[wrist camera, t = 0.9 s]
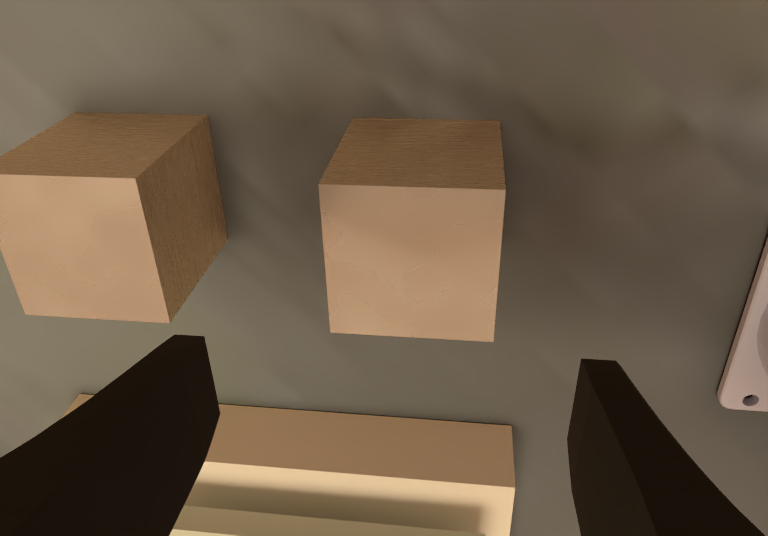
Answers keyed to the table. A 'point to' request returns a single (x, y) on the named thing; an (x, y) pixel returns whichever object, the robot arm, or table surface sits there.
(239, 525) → the pan
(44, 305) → the tan brown block
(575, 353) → the table surface
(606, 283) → the table surface
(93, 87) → the table surface
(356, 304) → the tan brown block
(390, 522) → the scale housing
